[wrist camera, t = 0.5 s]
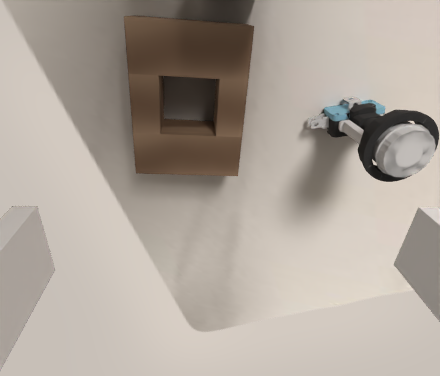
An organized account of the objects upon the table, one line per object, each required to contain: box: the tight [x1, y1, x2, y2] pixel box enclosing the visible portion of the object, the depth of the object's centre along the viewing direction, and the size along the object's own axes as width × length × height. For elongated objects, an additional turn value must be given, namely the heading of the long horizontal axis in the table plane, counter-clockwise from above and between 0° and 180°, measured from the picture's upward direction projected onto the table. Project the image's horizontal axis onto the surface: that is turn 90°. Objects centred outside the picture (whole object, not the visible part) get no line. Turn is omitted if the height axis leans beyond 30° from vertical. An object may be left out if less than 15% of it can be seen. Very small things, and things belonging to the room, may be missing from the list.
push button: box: [308, 97, 439, 182], centre depth 25 cm, size 7×5×10 cm
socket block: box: [124, 16, 254, 176], centre depth 26 cm, size 12×9×4 cm
